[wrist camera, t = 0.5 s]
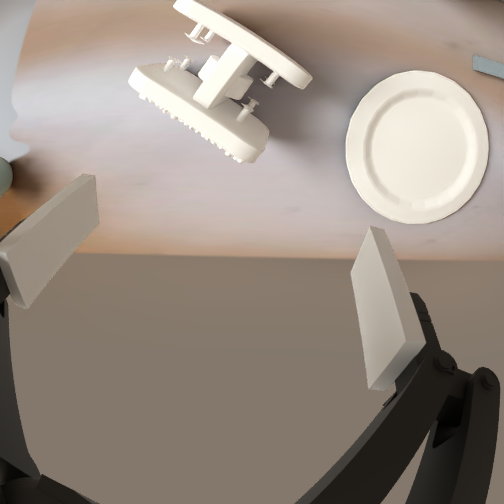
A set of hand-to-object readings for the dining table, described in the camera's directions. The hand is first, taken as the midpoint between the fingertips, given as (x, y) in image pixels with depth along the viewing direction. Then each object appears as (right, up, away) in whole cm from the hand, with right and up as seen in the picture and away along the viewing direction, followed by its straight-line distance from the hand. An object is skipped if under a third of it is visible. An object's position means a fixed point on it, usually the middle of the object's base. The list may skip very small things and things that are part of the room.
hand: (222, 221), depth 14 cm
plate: (+23, +12, +21) cm, 33 cm away
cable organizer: (0, +20, +19) cm, 27 cm away
